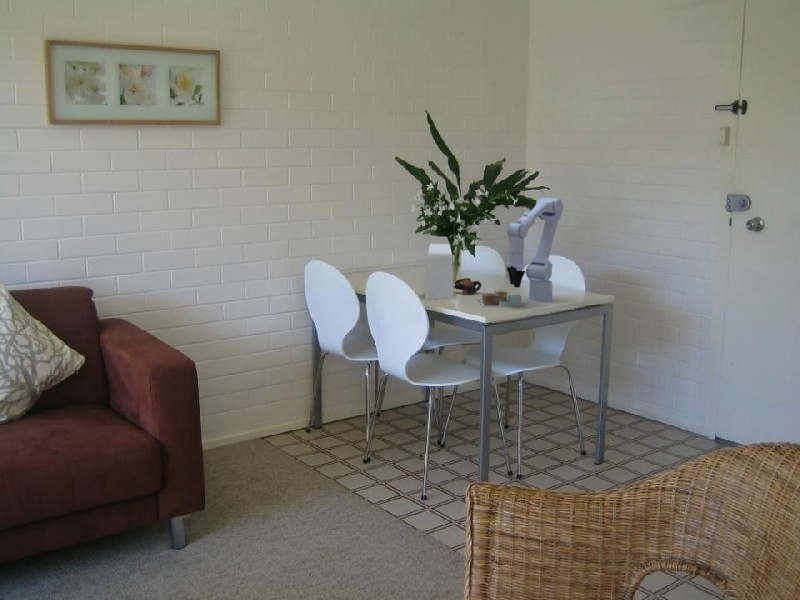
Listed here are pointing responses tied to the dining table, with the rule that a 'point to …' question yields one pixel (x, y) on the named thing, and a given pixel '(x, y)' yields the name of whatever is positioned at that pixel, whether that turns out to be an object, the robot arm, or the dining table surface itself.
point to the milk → (439, 270)
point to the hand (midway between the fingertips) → (515, 285)
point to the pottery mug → (467, 286)
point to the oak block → (502, 295)
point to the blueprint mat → (501, 304)
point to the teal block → (514, 300)
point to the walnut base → (490, 299)
